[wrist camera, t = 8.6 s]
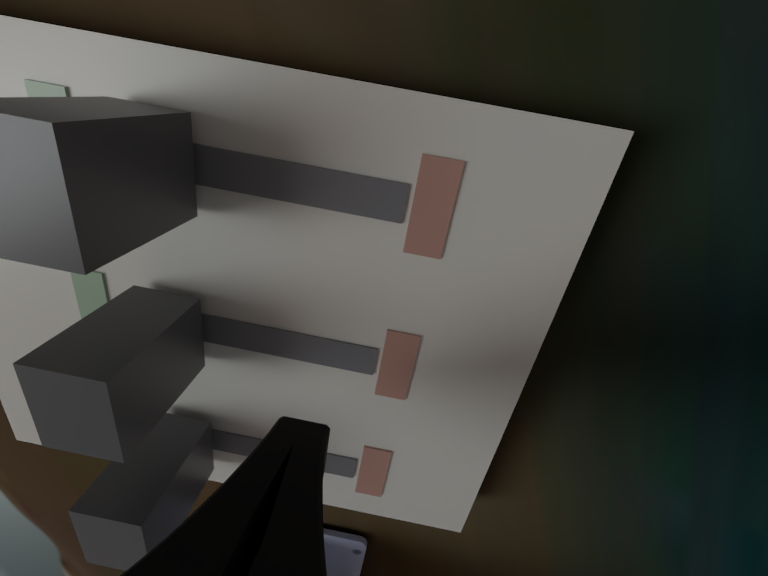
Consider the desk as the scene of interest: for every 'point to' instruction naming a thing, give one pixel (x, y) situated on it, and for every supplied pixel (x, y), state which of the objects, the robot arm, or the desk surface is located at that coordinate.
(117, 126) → the block
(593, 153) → the breaker panel
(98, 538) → the block
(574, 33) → the desk surface
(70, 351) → the block
